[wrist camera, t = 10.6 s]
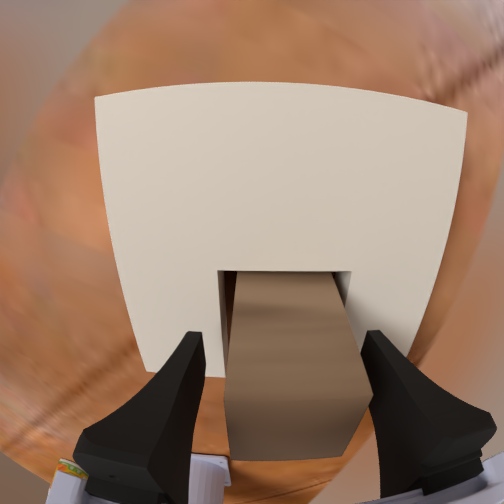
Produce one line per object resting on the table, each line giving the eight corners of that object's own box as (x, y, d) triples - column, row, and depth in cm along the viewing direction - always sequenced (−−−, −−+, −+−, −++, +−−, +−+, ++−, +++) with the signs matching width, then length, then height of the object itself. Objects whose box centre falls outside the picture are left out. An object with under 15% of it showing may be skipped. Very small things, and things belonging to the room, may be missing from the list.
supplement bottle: (86, 467, 33) (71, 516, 25) (91, 476, 36) (78, 521, 27) (56, 454, 33) (39, 501, 24) (63, 465, 35) (48, 508, 27)
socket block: (389, 343, 19) (400, 369, 17) (156, 343, 19) (146, 371, 17) (439, 108, 12) (467, 112, 10) (119, 96, 12) (94, 97, 10)
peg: (314, 320, 18) (341, 456, 10) (240, 320, 18) (230, 460, 10) (324, 254, 16) (373, 394, 8) (239, 253, 16) (223, 400, 8)
